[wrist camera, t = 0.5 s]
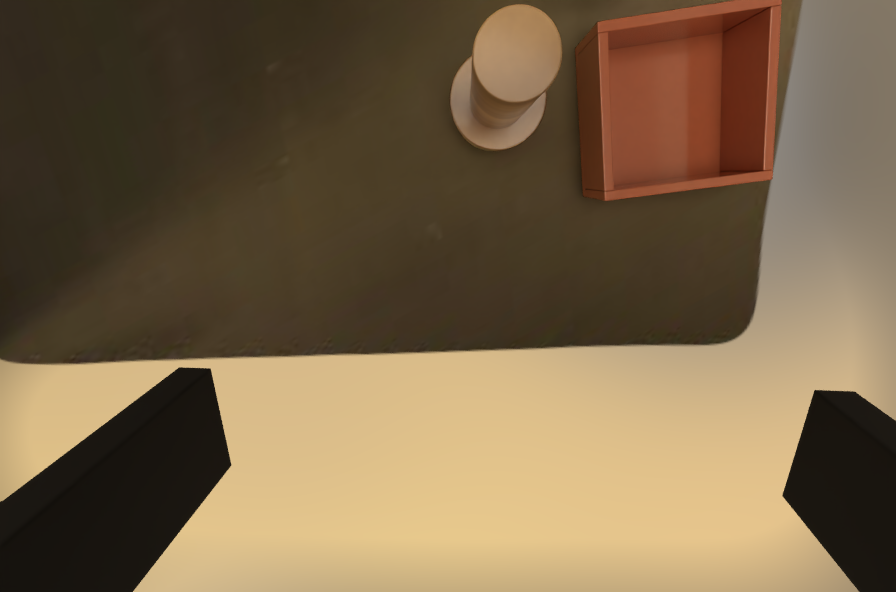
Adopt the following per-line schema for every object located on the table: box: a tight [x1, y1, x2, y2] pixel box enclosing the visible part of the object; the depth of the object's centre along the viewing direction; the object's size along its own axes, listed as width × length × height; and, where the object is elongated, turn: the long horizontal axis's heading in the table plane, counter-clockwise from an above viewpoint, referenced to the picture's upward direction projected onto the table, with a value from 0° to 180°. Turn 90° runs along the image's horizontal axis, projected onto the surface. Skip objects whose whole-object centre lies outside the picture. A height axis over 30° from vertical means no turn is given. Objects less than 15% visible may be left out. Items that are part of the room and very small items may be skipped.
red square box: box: [575, 0, 782, 201], centre depth 30 cm, size 10×10×6 cm
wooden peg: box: [450, 4, 562, 151], centre depth 25 cm, size 6×6×15 cm
